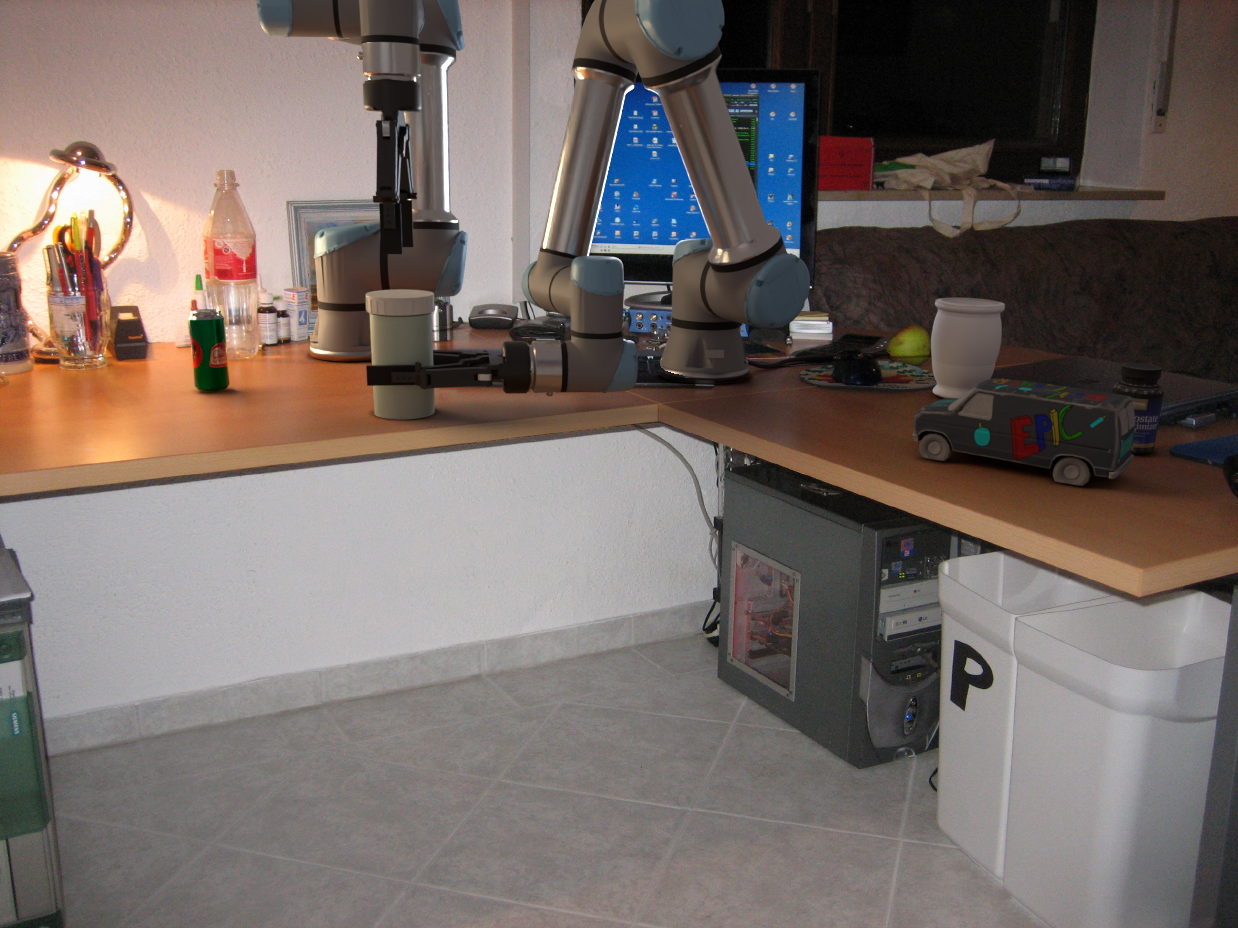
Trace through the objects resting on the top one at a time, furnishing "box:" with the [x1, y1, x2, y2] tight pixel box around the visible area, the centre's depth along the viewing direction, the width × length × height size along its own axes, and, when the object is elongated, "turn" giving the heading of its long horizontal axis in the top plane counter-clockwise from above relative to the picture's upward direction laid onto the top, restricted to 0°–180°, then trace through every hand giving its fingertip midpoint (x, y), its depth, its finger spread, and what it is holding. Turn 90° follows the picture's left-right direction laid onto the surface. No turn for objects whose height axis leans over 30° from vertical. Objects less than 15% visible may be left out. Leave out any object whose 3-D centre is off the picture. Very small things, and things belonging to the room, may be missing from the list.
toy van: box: [911, 377, 1136, 487], centre depth 131 cm, size 11×25×10 cm, turn 54°
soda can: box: [187, 308, 231, 393], centre depth 163 cm, size 5×5×12 cm
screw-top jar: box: [370, 312, 436, 421], centre depth 151 cm, size 8×8×16 cm
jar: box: [930, 297, 1006, 399], centre depth 168 cm, size 11×10×15 cm
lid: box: [365, 289, 436, 316], centre depth 149 cm, size 9×9×2 cm
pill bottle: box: [1111, 362, 1165, 455], centre depth 139 cm, size 6×6×11 cm
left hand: (398, 250), depth 146 cm, fingers open, 11 cm apart
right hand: (369, 369), depth 151 cm, fingers closed on screw-top jar, 8 cm apart
